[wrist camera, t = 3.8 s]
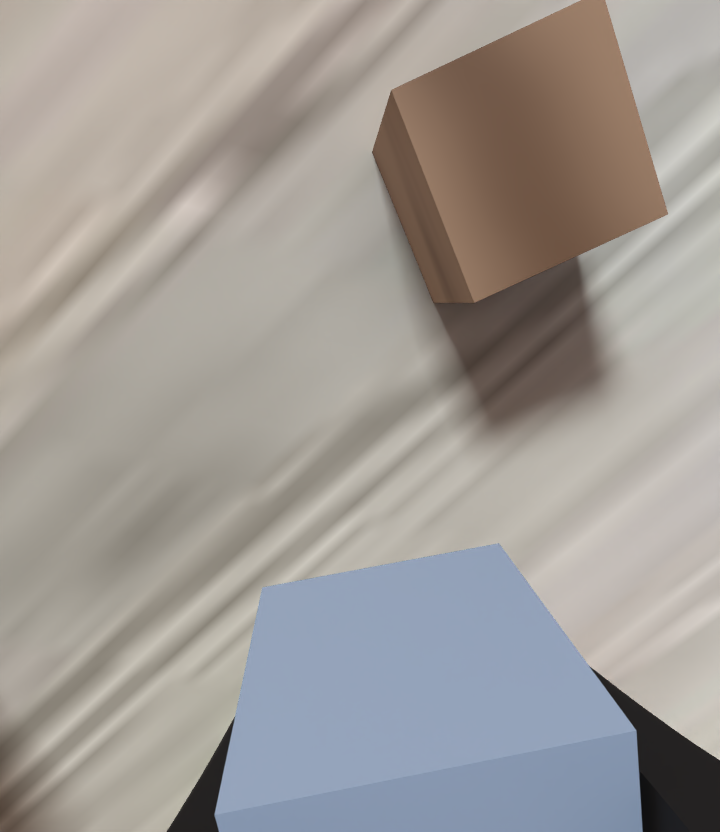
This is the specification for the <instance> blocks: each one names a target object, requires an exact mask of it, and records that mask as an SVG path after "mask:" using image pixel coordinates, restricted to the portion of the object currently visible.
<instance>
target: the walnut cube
mask: <svg viewBox="0 0 720 832" xmlns="http://www.w3.org/2000/svg"><path fill="white" fill-rule="evenodd" d="M372 153H373V155H374V158H375V160H376V163H377V165H378V167H379V170H380V172H381V175H382V177H383V180H384V182H385V185H386V187H387V190H388V192H389V194H390V197H391V199H392V202H393V204H394V207H395V209H396V212H397V214H398V217H399V219H400V222H401V224H402V226H403V229H404V231H405V234H406V236H407V239H408V241H409V244H410V246H411V249H412V251H413V253H414V256H415V258H416V261H417V263H418V266H419V268H420V271H421V273H422V276H423V278H424V280H425V283H426V285H427V288H428V290H429V293H430V295H431V298H432V300H433V303H475V302H477V301H480V300H482V299H484V298H486V297H488V296H490V295H493V294H495V293H497V292H499V291H501V290H504V289H506V288H508V287H510V286H512V285H514V284H517V283H519V282H521V281H523V280H525V279H528V278H530V277H532V276H534V275H536V274H539V273H541V272H543V271H545V270H547V269H549V268H552V267H554V266H556V265H558V264H560V263H563V262H565V261H567V260H569V259H571V258H573V257H576V256H578V255H580V254H582V253H584V252H587V251H589V250H591V249H593V248H595V247H598V246H600V245H602V244H604V243H606V242H608V241H611V240H613V239H615V238H617V237H619V236H622V235H624V234H626V233H628V232H630V231H633V230H635V229H637V228H639V227H641V226H643V225H646V224H648V223H650V222H652V221H654V220H657V219H659V218H661V217H663V216H665V215H667V214H668V212H667V209H666V206H665V202H664V199H663V195H662V192H661V189H660V185H659V182H658V178H657V175H656V172H655V168H654V165H653V161H652V158H651V155H650V151H649V148H648V144H647V141H646V138H645V134H644V131H643V127H642V124H641V121H640V117H639V114H638V110H637V107H636V104H635V100H634V97H633V93H632V90H631V87H630V83H629V80H628V76H627V73H626V70H625V66H624V63H623V59H622V56H621V53H620V49H619V46H618V43H617V39H616V36H615V32H614V29H613V26H612V22H611V19H610V15H609V12H608V9H607V5H606V2H605V0H581V1H579V2H577V3H575V4H572V5H570V6H568V7H566V8H564V9H562V10H560V11H558V12H555V13H553V14H551V15H549V16H547V17H545V18H543V19H541V20H539V21H536V22H534V23H532V24H530V25H528V26H526V27H524V28H522V29H519V30H517V31H515V32H513V33H511V34H509V35H507V36H505V37H503V38H500V39H498V40H496V41H494V42H492V43H490V44H488V45H486V46H484V47H481V48H479V49H477V50H475V51H473V52H471V53H469V54H467V55H464V56H462V57H460V58H458V59H456V60H454V61H452V62H450V63H448V64H445V65H443V66H441V67H439V68H437V69H435V70H433V71H431V72H428V73H426V74H424V75H422V76H420V77H418V78H416V79H414V80H412V81H409V82H407V83H405V84H403V85H401V86H399V87H397V88H395V89H392V90H391V93H390V96H389V99H388V102H387V106H386V109H385V112H384V115H383V119H382V122H381V125H380V128H379V132H378V135H377V138H376V141H375V145H374V148H373V151H372Z"/></svg>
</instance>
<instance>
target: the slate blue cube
mask: <svg viewBox="0 0 720 832" xmlns="http://www.w3.org/2000/svg"><path fill="white" fill-rule="evenodd" d="M215 819H216V822H217V826H218V829H219V832H643V830H642V814H641V797H640V781H639V765H638V749H637V732H636V729H635V728H634V727H633V725H632V724H631V722H630V721H629V720H628V718H627V717H626V716H625V714H624V713H623V712H622V710H621V709H620V707H619V706H618V705H617V703H616V702H615V701H614V699H613V698H612V697H611V695H610V694H609V693H608V691H607V690H606V688H605V687H604V686H603V684H602V683H601V682H600V680H599V679H598V678H597V676H596V675H595V673H594V672H593V671H592V669H591V668H590V667H589V665H588V664H587V663H586V661H585V660H584V658H583V657H582V656H581V654H580V653H579V652H578V650H577V649H576V648H575V646H574V645H573V644H572V642H571V641H570V639H569V638H568V637H567V635H566V634H565V633H564V631H563V630H562V629H561V627H560V626H559V624H558V623H557V622H556V620H555V619H554V618H553V616H552V615H551V614H550V612H549V611H548V609H547V608H546V607H545V605H544V604H543V603H542V601H541V600H540V599H539V597H538V596H537V594H536V593H535V592H534V590H533V589H532V588H531V586H530V585H529V584H528V582H527V581H526V580H525V578H524V577H523V575H522V574H521V573H520V571H519V570H518V569H517V567H516V566H515V565H514V563H513V562H512V560H511V559H510V558H509V556H508V555H507V554H506V552H505V551H504V550H503V548H502V547H501V545H500V544H499V543H498V544H493V545H488V546H482V547H477V548H471V549H466V550H461V551H455V552H450V553H445V554H439V555H434V556H429V557H423V558H418V559H413V560H407V561H402V562H396V563H391V564H386V565H380V566H375V567H370V568H364V569H359V570H354V571H348V572H343V573H338V574H332V575H327V576H321V577H316V578H311V579H305V580H300V581H295V582H289V583H284V584H279V585H273V586H268V587H263V588H262V592H261V596H260V601H259V606H258V611H257V615H256V620H255V625H254V630H253V634H252V639H251V644H250V649H249V653H248V658H247V663H246V668H245V672H244V677H243V682H242V687H241V691H240V696H239V701H238V706H237V710H236V715H235V720H234V725H233V729H232V734H231V739H230V744H229V748H228V753H227V758H226V763H225V767H224V772H223V777H222V782H221V786H220V791H219V796H218V801H217V805H216V810H215Z"/></svg>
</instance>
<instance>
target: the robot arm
mask: <svg viewBox="0 0 720 832" xmlns="http://www.w3.org/2000/svg"><path fill="white" fill-rule="evenodd" d="M589 667H590V666H589ZM590 668H591V667H590ZM591 669H592V668H591ZM592 671H593V672H594V673H595V675H596V676H597V678H598V679H599V680H600V682H601V683H602V684H603V686H604V687H605V688H606V690H607V691H608V693H609V694H610V695H611V697H612V698H613V699H614V701H615V702H616V703H617V705H618V706H619V707H620V709H621V710H622V712H623V713H624V714H625V716H626V717H627V718H628V720H629V721H630V722H631V724H632V725H633V727H634V728H635V729H636V732H637V749H638V765H639V781H640V797H641V814H642V830H643V832H720V760H718V759H717V758H715V757H714V756H712V755H711V754H709V753H708V752H706V751H705V750H703V749H701V748H700V747H698V746H697V745H695V744H694V743H692V742H691V741H690V740H688V739H687V738H685V737H684V736H682V735H681V734H679V733H678V732H677V731H675V730H674V729H672V728H671V727H670V726H668V725H667V724H665V723H664V722H663V721H661V720H660V719H659V718H657V717H656V716H654V715H653V714H652V713H650V712H649V711H647V710H646V709H645V708H643V707H642V706H641V705H639V704H638V703H637V702H635V701H634V700H633V699H631V698H630V697H629V696H627V695H626V694H625V693H623V692H622V691H621V690H619V689H618V688H617V687H616V686H614V685H613V684H612V683H610V682H609V681H608V680H606V679H605V678H604V677H603V676H601V675H600V674H599V673H597V672H596V671H595V670H594V669H592ZM234 720H235V717H234V719H233V721H232V723H231V724H230V726H229V728H228V730H227V732H226V733H225V735H224V737H223V739H222V741H221V742H220V744H219V746H218V748H217V749H216V751H215V753H214V755H213V756H212V758H211V760H210V762H209V763H208V765H207V767H206V768H205V770H204V772H203V774H202V775H201V777H200V779H199V780H198V782H197V784H196V785H195V787H194V788H193V790H192V792H191V793H190V795H189V797H188V798H187V800H186V802H185V803H184V805H183V806H182V808H181V810H180V811H179V813H178V815H177V816H176V818H175V819H174V821H173V823H172V824H171V826H170V827H169V829H168V830H167V832H219V829H218V826H217V822H216V819H215V810H216V805H217V801H218V796H219V791H220V786H221V782H222V777H223V772H224V767H225V763H226V758H227V753H228V748H229V744H230V739H231V734H232V729H233V725H234Z"/></svg>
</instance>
